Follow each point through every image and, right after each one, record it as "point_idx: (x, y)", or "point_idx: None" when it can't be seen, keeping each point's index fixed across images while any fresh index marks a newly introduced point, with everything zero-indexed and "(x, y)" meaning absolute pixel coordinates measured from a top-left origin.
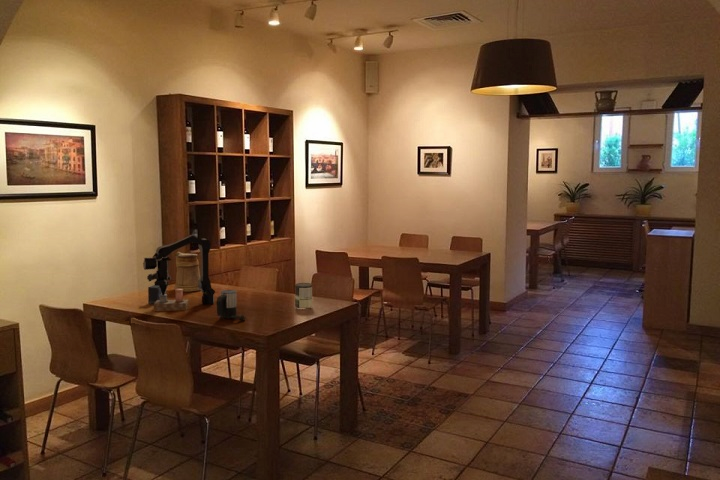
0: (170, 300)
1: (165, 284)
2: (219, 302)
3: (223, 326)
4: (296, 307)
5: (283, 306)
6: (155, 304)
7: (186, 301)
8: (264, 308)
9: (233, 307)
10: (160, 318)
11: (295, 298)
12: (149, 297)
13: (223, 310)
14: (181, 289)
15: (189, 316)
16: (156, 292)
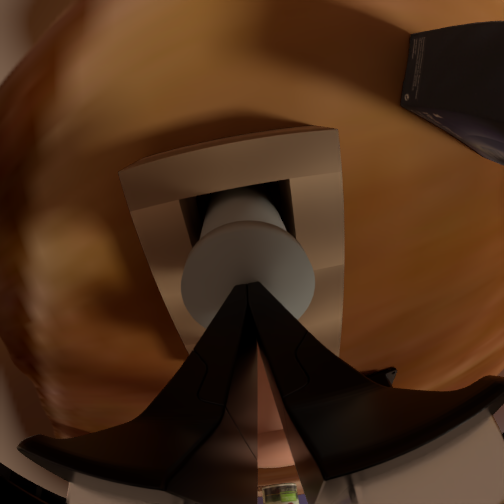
0: (318, 283)
1: (43, 496)
2: None
3: (68, 434)
4: (269, 487)
5: (291, 477)
6: (125, 190)
7: None
8: (270, 472)
9: None
10: (11, 290)
11: (276, 501)
12: (446, 36)
13: None
14: (284, 462)
15: (99, 388)
16: (484, 110)
